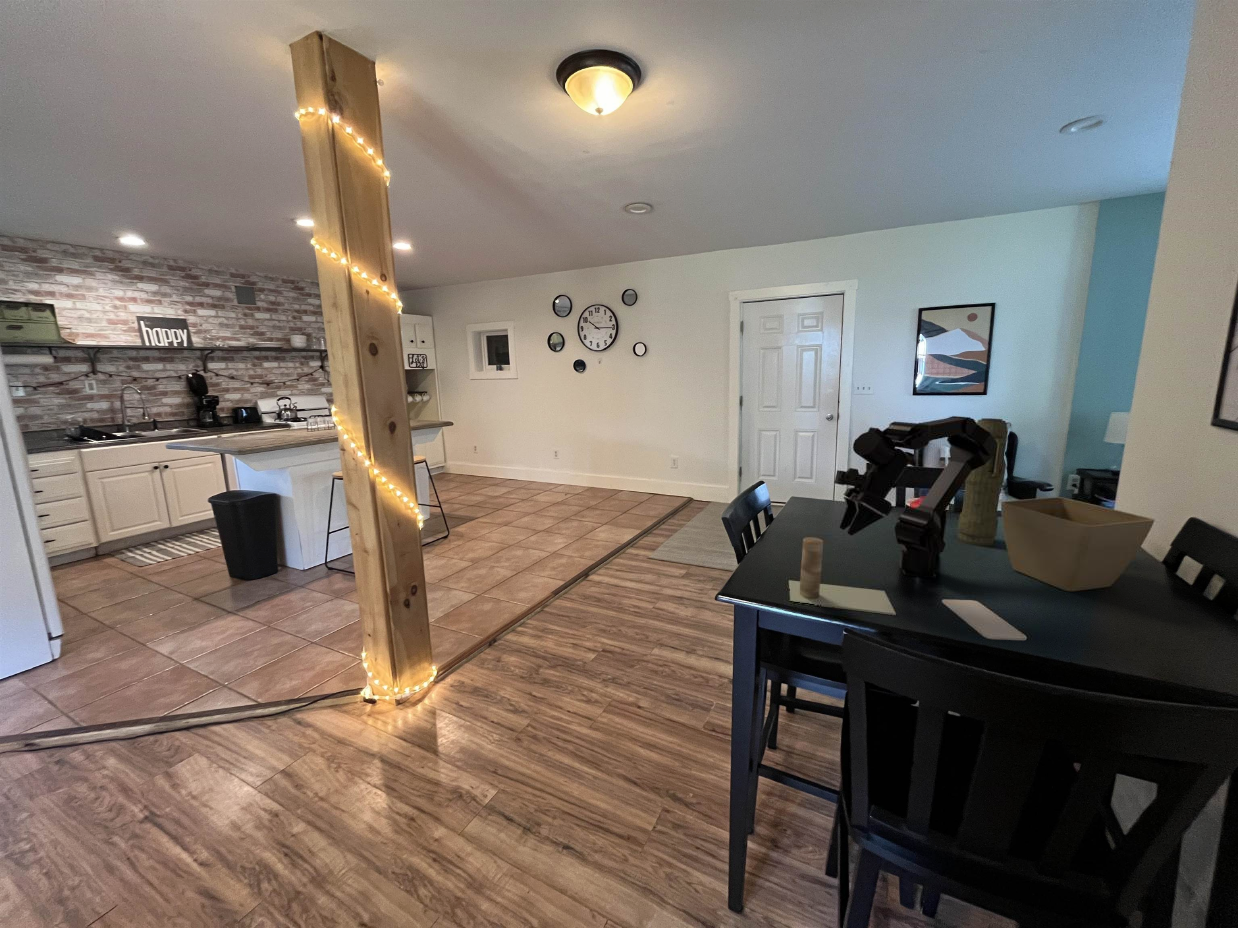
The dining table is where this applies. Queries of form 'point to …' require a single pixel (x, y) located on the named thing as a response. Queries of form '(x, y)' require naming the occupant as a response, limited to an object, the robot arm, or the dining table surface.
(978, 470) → the thermos
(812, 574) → the maple post
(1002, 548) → the dining table surface
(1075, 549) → the flower pot
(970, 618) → the smartphone
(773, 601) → the dining table surface
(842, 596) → the sage mat
